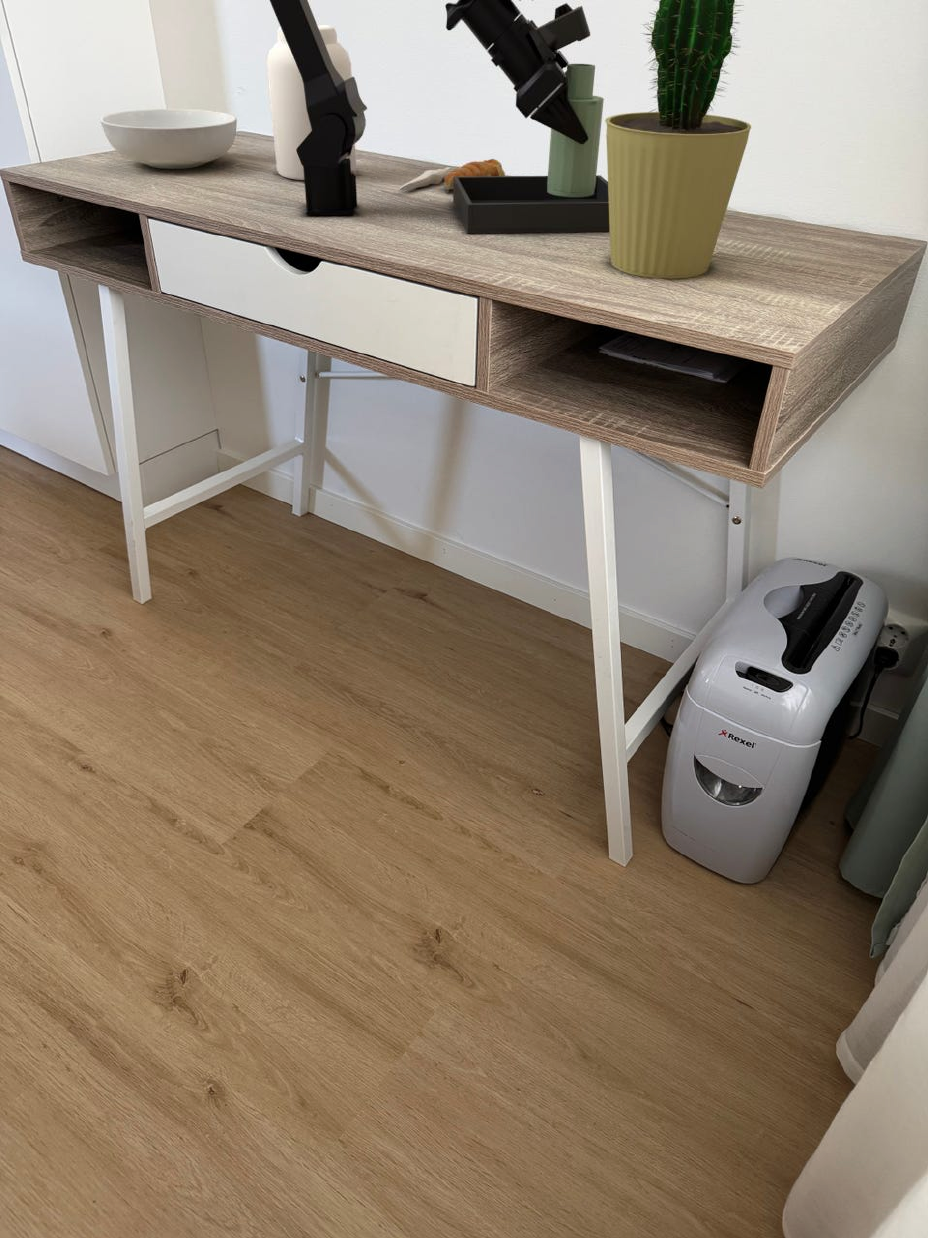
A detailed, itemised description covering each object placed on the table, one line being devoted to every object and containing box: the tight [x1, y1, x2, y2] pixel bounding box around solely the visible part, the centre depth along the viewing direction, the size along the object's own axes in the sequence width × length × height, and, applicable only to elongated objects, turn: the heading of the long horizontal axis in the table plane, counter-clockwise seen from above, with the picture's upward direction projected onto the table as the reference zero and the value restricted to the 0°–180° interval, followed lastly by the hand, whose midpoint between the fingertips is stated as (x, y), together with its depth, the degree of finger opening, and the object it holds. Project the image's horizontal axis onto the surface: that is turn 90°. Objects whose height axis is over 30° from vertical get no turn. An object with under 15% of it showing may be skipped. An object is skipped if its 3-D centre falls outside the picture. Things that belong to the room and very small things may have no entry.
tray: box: [452, 174, 610, 235], centre depth 125 cm, size 21×17×4 cm
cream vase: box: [266, 24, 357, 181], centre depth 141 cm, size 12×12×20 cm
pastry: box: [443, 158, 506, 190], centre depth 138 cm, size 9×7×4 cm
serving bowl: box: [100, 108, 238, 170], centre depth 150 cm, size 21×21×7 cm
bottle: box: [547, 63, 605, 197], centre depth 118 cm, size 6×6×14 cm
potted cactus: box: [604, 0, 752, 279], centre depth 99 cm, size 15×15×30 cm
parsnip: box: [399, 166, 451, 191], centre depth 141 cm, size 15×3×2 cm, turn 152°
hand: (585, 137), depth 118 cm, fingers closed on bottle, 6 cm apart
